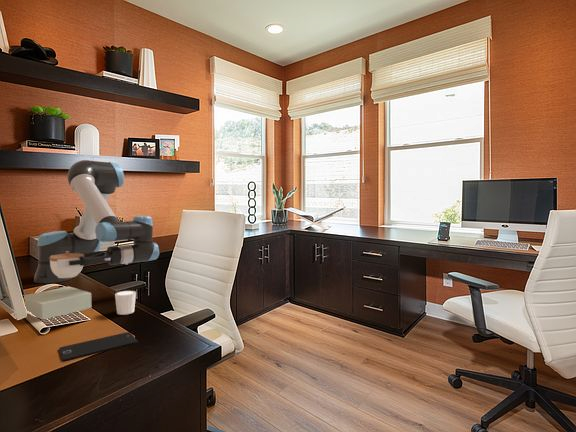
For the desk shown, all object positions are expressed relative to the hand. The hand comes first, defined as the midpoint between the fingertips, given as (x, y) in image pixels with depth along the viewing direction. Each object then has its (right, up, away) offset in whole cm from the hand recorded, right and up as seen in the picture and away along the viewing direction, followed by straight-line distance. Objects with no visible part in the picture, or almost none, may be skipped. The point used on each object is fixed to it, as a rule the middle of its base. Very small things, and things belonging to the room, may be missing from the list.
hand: (54, 261), depth 121 cm
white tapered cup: (+26, -19, 0) cm, 32 cm away
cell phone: (+32, -21, -28) cm, 47 cm away
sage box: (0, -18, +1) cm, 18 cm away
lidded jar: (+3, -6, +3) cm, 8 cm away
